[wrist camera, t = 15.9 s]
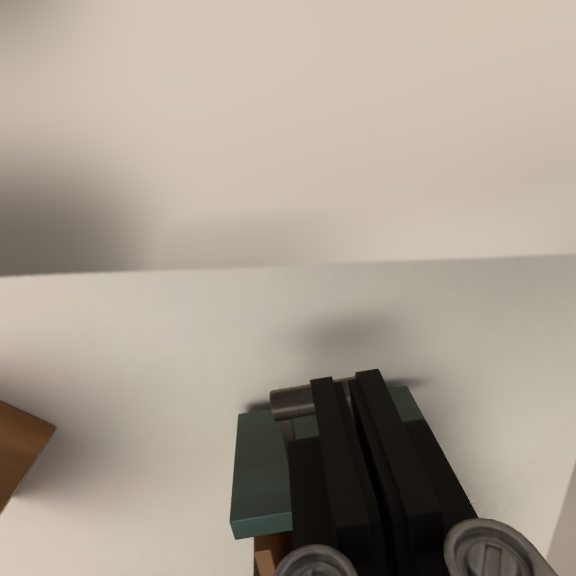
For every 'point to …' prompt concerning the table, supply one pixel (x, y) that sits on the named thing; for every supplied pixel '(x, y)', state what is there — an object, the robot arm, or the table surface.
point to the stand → (18, 448)
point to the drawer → (279, 467)
